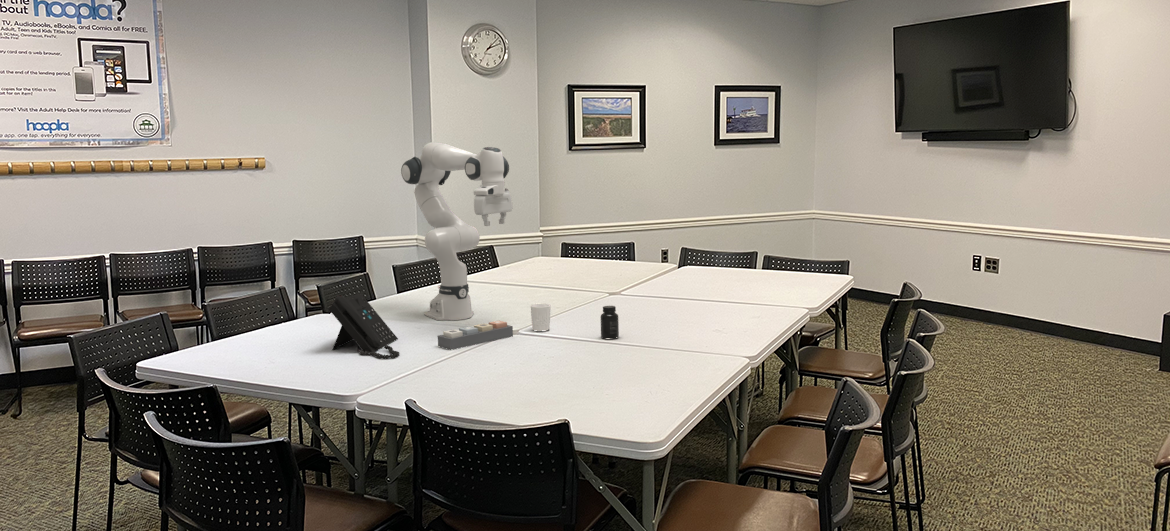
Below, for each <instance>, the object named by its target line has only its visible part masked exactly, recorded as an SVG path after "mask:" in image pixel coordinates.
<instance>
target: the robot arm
mask: <svg viewBox="0 0 1170 531" xmlns="http://www.w3.org/2000/svg"><path fill="white" fill-rule="evenodd" d="M463 170H464V171H465V175H466V177H467V178H468V179H469V180H471V181H481V184H480V185H479V186H478V187H476V188H474V189H473V195H474V198H473V210H474V214H475V215H476V216H481V220H482V221H483V226H484V227H490V226H491V221H490V220H489V219H488V217H489V215H492V214H494V215H495V214H499V215H500V217H499V219H498V223H499V225H504V224H505V223H506V222H505V219H506V217H507V213H509V212H512V211H513V199H512V195H511V192H510V190H509V189H508V188H507V187H506V186H505V178H506V177H507V176H508V174H509V173H510V164H509V161H508V160H507V159H506V157H505V156H504V154H503V152H502V150H501V149H500V148H499V147H498V148H497V147H493V146H486V147H483V148H482V149H481V150H480V152H479V153H475V152H471V151H468V150H465V149H462V148H460V147H456V146H453V145H451V144H448V143H444V142H439V141H432V142H431V141H430V142H428V143H426V144H425V145H424V146H423V148H422V150H421V155H420V156H419V157H416V156H413V157H412V158H410V159H408V160H406V161H405V162H404V163H403V164H402V166H401V169H400V171H401V172H400V173H401V174H400V175H401V177H402V180H403V181H404V182H405V183H406V184H409V185H416V186H415V188H414V189H413V190H414V191H413V192H414V197H415V200H416V202H417V204H418V207H419V209H420V211H421V212H422V214H423V216H424V218H425V220H426V221H427V223H428V224H429V226H431V227H432V228H433V229H431V230H428V231H427V233H426V234H425V236H424V245H425V248H426V249H427V250H428V251H429V252H430V253H431V254H432V255H433V256H434V257H435V259H436V261H437V263H438V266H439V271H440V272H439V273H440V285H439V286H438V293H437V295H435V296H434V298H432V300H430V302H429V311H426V312H424V316H426V317H428V318H431V319H433V320H436V321H457V320H458V321H459V320H466V319H469V318H472V317H473V315H474V314H475V312H474V311H473V310H472V301H471V296H470V295H469V292H470V291H469V289H470V286H469V283H468V268H467V265H466V264H465V263H464V262H462V261H461V260H459V257H458V256H457V252H465V251H469V250H472V249H474V248H476V247H477V246H478V245H479V244H480V238H481V237H480V233H479V231H478V229H477V228H476V227H475V226H473V225H471V224H468V223H467V222H466V221H464V220H463V219H461V218H460V217H458V216H457V214H455V213H454V212H453V211H452V209H451V207H450V206H449V204H448V202H447V201H446V199H445V198H444V196H443V194H442V193H441V191H440V190H439V186H443V185H444V184H445V182H446V181H447V179H448V178H449V177H450V175H451V173H452V172H453V171H463Z"/></svg>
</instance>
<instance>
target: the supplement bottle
mask: <svg viewBox="0 0 1170 531" xmlns="http://www.w3.org/2000/svg"><path fill="white" fill-rule="evenodd" d="M616 311H617V310H616V306H615V305H604V306H602V313H601V314H600V337H603V338H616V337H618V338H619V336H620V335H619V334H620V330H619V326H620V325H619V324H620V323H619V321H620V320H619V314H618V313H617V312H616ZM603 338H602V339H603ZM616 339H617V338H616Z"/></svg>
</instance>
